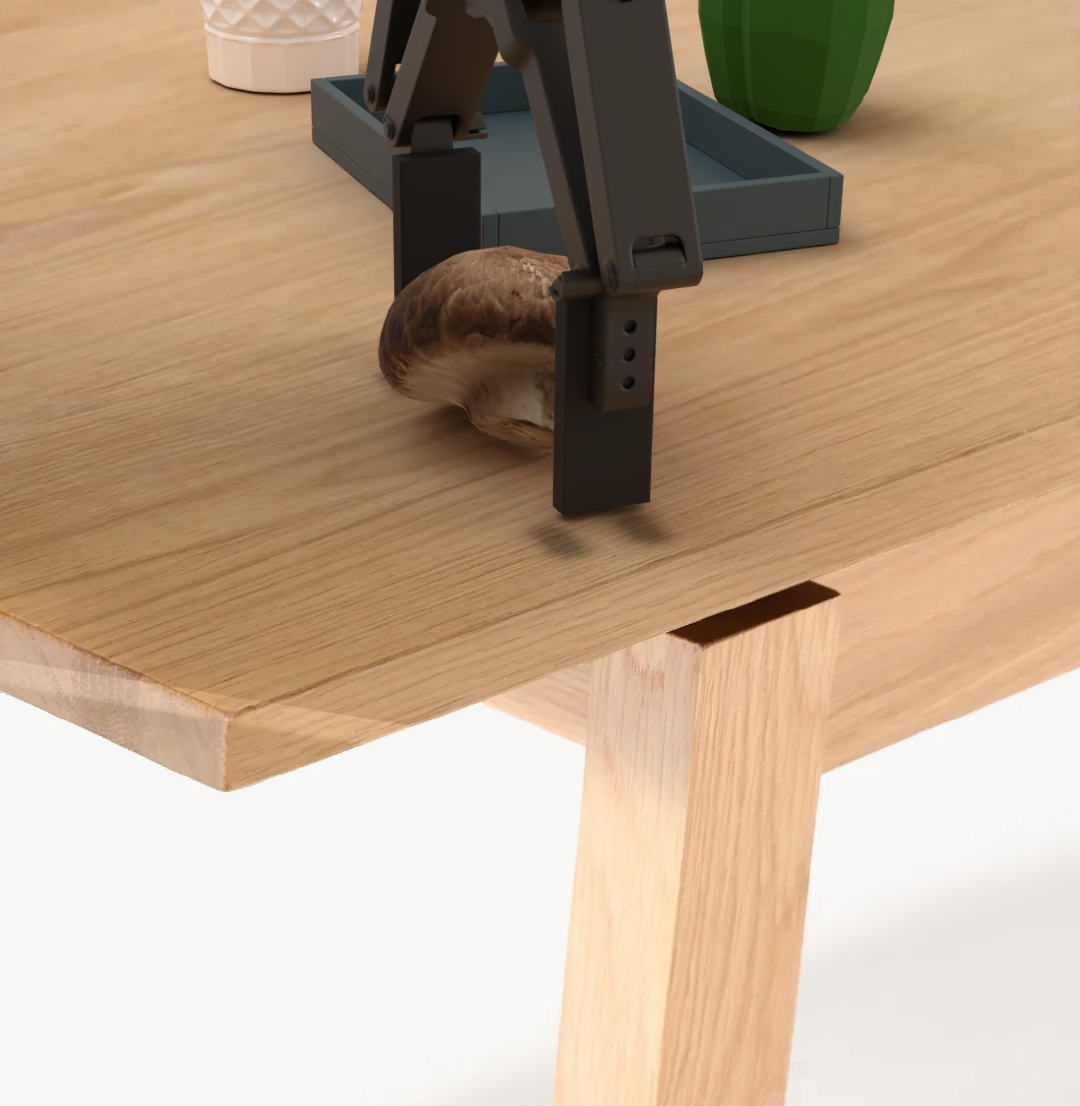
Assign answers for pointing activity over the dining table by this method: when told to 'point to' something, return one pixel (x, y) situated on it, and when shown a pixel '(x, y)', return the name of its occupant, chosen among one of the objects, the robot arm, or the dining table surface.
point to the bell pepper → (793, 57)
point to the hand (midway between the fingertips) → (514, 423)
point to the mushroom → (480, 340)
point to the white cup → (280, 42)
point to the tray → (524, 193)
